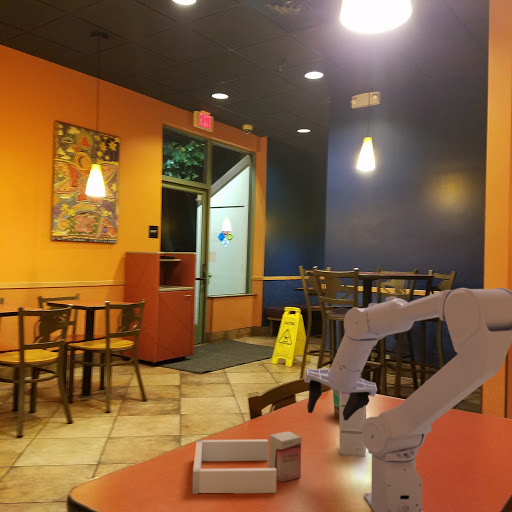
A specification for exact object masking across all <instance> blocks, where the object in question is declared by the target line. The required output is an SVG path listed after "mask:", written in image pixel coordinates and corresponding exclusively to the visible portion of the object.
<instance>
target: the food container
mask: <svg viewBox="0 0 512 512" xmlns="http://www.w3.org/2000/svg"><path fill="white" fill-rule="evenodd" d="M330 389H331V390H332V395H333V396H332V398H333V412H334V418H335V419H336V420H338V421H339V408H340V391H338V390H336V389H333V388H331V387H330Z"/></svg>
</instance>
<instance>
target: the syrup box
mask: <svg viewBox="0 0 512 512" xmlns="http://www.w3.org/2000/svg"><path fill="white" fill-rule="evenodd" d="M349 396H350V393H345V392H340V408H339V420H338V421H339V423H338V424H339V426H338V427H339V438H338V439H339V454H340V455H345V456H354V457H366V454H367V448H366V446H365V444H364V442H363V438H362V426H363V423H364V421H365V420H366V419H367V405H366V406H363V407H362V408H360V409H358V410H357V411H356V412H355V413H354V414H353V415H352V416H351V417H350V418H349V419H348V420H347V421H346V420H344V417H343V410H344V407H345V405H346V403H347V401H348V399H349Z"/></svg>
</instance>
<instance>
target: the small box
mask: <svg viewBox="0 0 512 512" xmlns="http://www.w3.org/2000/svg"><path fill="white" fill-rule="evenodd" d="M301 460H302V437H301V436H300V435H297V434H295V433H294V432H291V431H283V432H277V433H273V434H269V435H268V467H267V468H276V481H278V482H280V483H283V482H287V481H291V480H294V479H298V478H300V477H301V472H302V471H301V469H302V463H301V462H302V461H301Z"/></svg>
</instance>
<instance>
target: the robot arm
mask: <svg viewBox="0 0 512 512" xmlns="http://www.w3.org/2000/svg"><path fill="white" fill-rule="evenodd" d="M434 318H435V319H436V318H439V320H440V321H442V322H446V325H447V329H448V332H449V333H448V334H449V336H450V340H451V342H452V343H451V344H452V346H453V349H454V351H455V352H456V355H455V356H454V357H453V358H451V360H449V361H448V362H447V363H446V364H445V365H443V366H442V367H441V368H440V369H439V370H437V372H436V373H434V374H433V375H432V376H430V378H429V379H427V380H426V381H425V382H424V383H423V384H422V385H421V386H419V388H417V389H416V390H415V391H414V392H412V394H410V395H409V396H408V397H407V398H405V399H404V400H403V401H402V402H401V403H400V404H398V405H396V406H395V407H392V408H390V409H387V410H385V411H384V412H381V413H380V414H378V415H377V416H370V417H368V418H367V417H366V420H365V421H364V423H363V426H362V438H363V442H364V444H365V446H366V450H367V451H368V453H369V454H371V486H370V488H371V489H370V490H371V492H364V493H363V497H364V498H365V500H366V501H367V503H368V505H369V507H371V509H372V511H373V512H424V511H423V481H422V477H421V475H420V473H419V472H418V471H417V468H416V456H417V455H419V448H420V447H422V446H423V445H424V443H425V441H426V437H427V436H428V434H429V433H430V432H432V431H433V428H432V424H433V423H435V422H436V421H437V420H438V419H439V418H441V417H442V416H443V415H445V414H446V413H447V412H448V411H450V410H451V409H453V408H454V407H456V405H458V404H460V403H461V402H462V400H464V399H466V397H468V396H469V395H471V394H472V393H473V392H474V391H476V390H477V389H478V388H480V387H481V386H482V385H483V384H485V383H486V382H487V381H489V380H490V379H491V378H493V377H494V376H495V375H497V374H498V373H499V372H500V370H501V369H502V367H503V365H504V362H505V359H506V358H507V357H506V356H507V354H508V351H509V350H510V347H511V345H512V290H511V289H508V288H505V287H497V288H477V289H476V288H473V289H472V288H466V287H460V288H459V287H458V288H456V289H446V290H441V291H438V292H436V293H432V294H430V295H427V296H424V297H422V298H421V297H420V298H417V299H414V300H412V301H409V302H408V301H407V300H405V299H403V298H398V297H397V296H388V297H385V301H384V302H379V303H377V302H371V303H368V306H367V307H363V308H361V307H360V308H359V307H355V306H354V307H352V308H351V309H348V310H347V312H346V313H345V315H344V318H343V328H344V332H345V333H344V335H343V337H342V340H341V342H340V345H339V348H338V349H337V352H336V354H335V357H334V359H333V361H332V364H331V366H330V368H320V369H319V368H317V369H316V368H315V369H314V368H306V369H305V372H304V374H303V380H304V383H307V384H308V402H307V405H306V406H307V411H308V412H307V413H309V414H313V412H314V409H315V408H316V404H317V402H318V400H319V399H320V397H321V396H322V385H325V386H327V387H331V388H333V389H336V390H338V391H340V392H345V393H350V396H349V399H348V401H347V403H346V405H345V407H344V410H343V417H344V420H346V421H347V420H348V419H349V418H350V417H351V416H352V415H353V414H354V413H355V412H356V411H357V410H358V409H360V408H362V407H363V406H366V407H367V405H368V404H369V402H370V397H372V398H374V397H375V396H376V394H377V391H378V387H377V384H376V383H375V382H372V381H369V380H366V379H364V378H361V377H360V376H361V374H362V373H363V370H364V367H365V365H366V363H367V361H368V359H369V356H370V354H371V352H372V350H373V348H374V347H375V346H376V345H377V344H378V342H379V340H382V339H384V338H385V337H386V336H389V335H393V334H398V333H403V332H408V331H410V329H412V327H413V325H414V322H418V321H423V320H424V321H425V320H428V319H429V320H430V319H434ZM331 388H330V389H331Z"/></svg>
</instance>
